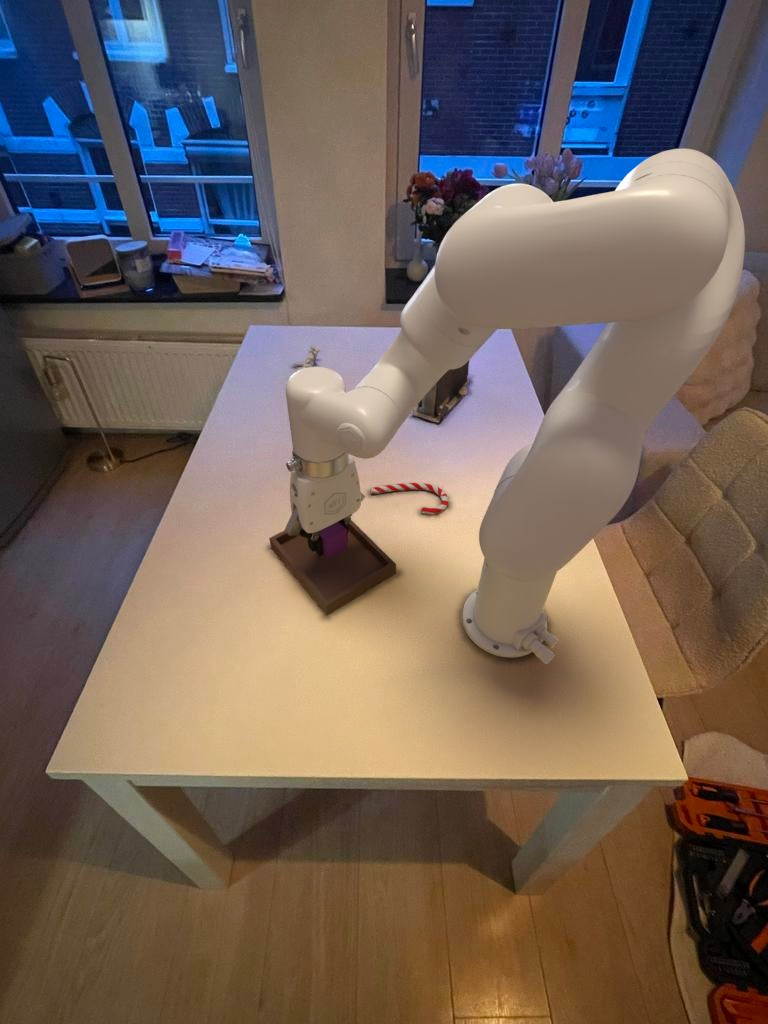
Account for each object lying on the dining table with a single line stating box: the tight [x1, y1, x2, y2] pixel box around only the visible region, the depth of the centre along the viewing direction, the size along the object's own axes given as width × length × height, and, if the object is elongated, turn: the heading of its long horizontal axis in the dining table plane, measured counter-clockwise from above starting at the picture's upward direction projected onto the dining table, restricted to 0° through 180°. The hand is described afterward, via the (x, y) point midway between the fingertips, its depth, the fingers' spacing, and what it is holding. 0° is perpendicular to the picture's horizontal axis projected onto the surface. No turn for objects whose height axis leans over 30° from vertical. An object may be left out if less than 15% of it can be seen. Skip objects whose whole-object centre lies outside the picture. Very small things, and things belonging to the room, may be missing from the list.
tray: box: [268, 519, 397, 616], centre depth 88 cm, size 18×14×2 cm
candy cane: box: [369, 482, 449, 515], centre depth 99 cm, size 8×1×15 cm
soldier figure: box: [292, 345, 321, 372], centre depth 133 cm, size 8×5×12 cm
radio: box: [411, 360, 470, 423], centre depth 120 cm, size 23×9×15 cm, turn 146°
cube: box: [319, 521, 347, 559], centre depth 84 cm, size 5×4×4 cm
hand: (328, 543), depth 86 cm, fingers closed on cube, 4 cm apart
